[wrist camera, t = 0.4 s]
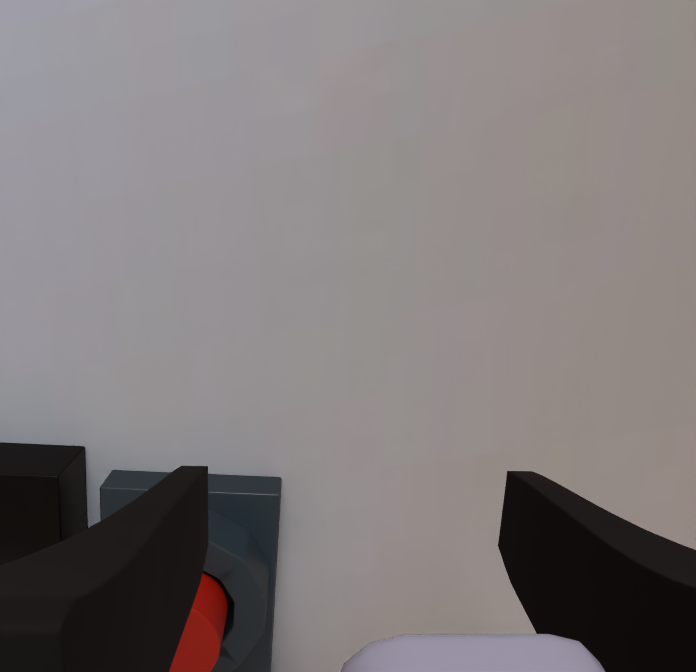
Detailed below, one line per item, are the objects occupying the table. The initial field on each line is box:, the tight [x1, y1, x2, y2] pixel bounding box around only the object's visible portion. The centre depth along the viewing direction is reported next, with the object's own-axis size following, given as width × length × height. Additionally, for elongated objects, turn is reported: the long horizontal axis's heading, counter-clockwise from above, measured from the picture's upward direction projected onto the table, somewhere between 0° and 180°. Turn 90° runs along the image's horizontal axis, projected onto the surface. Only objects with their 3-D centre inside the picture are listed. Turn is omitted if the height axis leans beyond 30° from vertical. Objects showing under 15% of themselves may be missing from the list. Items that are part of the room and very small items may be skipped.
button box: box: [100, 470, 282, 672], centre depth 24 cm, size 11×7×4 cm, turn 175°
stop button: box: [169, 572, 228, 672], centre depth 21 cm, size 4×4×2 cm
